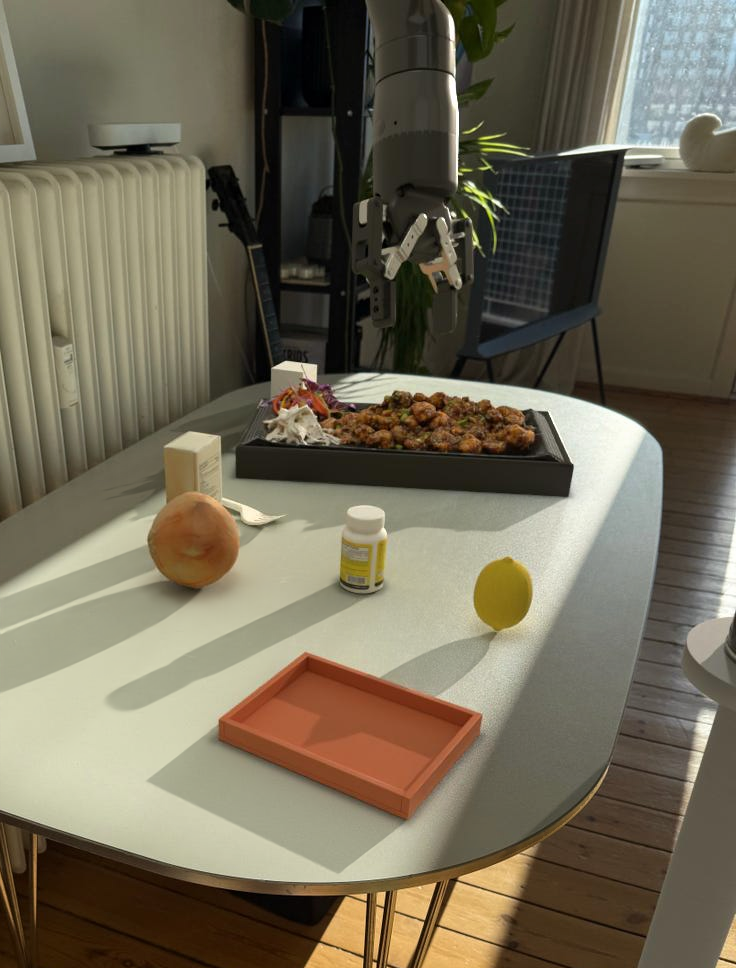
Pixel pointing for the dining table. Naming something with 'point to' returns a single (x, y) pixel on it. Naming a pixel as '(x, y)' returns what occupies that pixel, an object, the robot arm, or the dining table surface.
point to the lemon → (503, 593)
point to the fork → (249, 513)
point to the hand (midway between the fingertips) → (415, 330)
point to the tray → (353, 732)
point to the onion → (194, 540)
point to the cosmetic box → (193, 465)
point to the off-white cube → (291, 376)
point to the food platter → (404, 443)
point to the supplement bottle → (363, 550)
